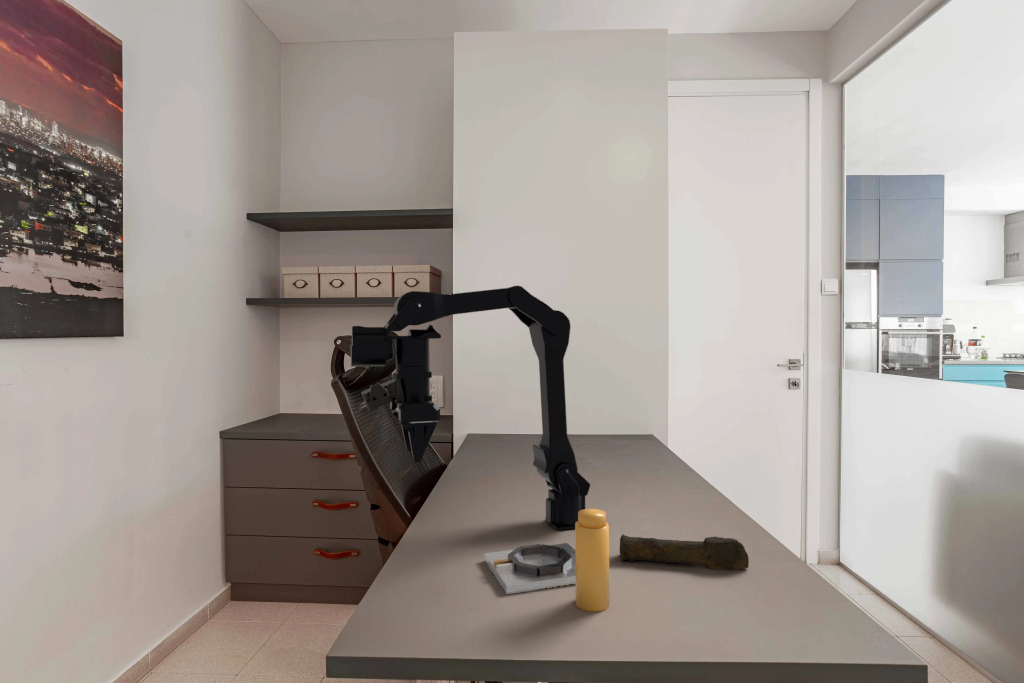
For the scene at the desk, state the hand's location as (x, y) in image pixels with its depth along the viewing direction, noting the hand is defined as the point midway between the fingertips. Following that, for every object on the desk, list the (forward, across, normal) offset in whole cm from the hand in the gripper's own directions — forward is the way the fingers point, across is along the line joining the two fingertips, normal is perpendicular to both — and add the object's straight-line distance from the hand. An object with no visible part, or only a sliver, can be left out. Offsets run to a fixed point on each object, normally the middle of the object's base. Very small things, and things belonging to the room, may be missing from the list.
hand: (413, 456), depth 98 cm
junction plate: (+15, +18, +16) cm, 28 cm away
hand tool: (+15, +22, +38) cm, 47 cm away
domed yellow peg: (+15, +30, +19) cm, 39 cm away
